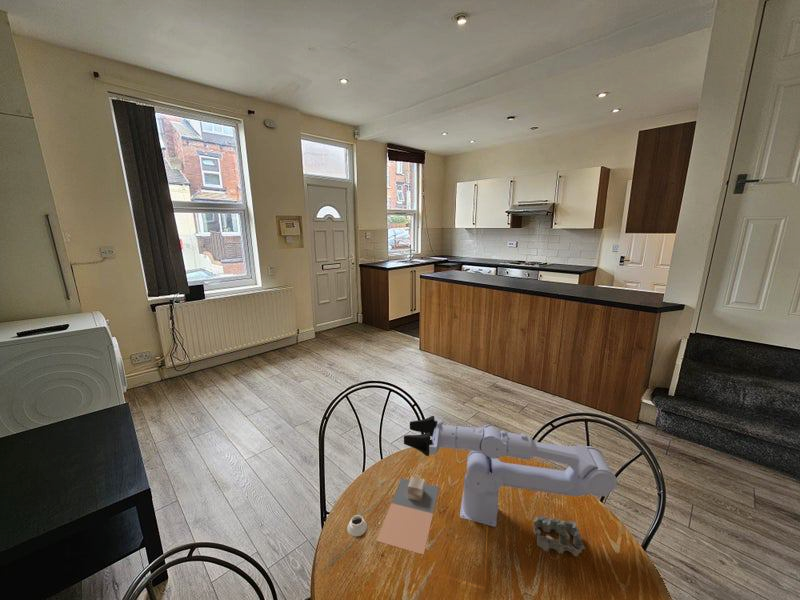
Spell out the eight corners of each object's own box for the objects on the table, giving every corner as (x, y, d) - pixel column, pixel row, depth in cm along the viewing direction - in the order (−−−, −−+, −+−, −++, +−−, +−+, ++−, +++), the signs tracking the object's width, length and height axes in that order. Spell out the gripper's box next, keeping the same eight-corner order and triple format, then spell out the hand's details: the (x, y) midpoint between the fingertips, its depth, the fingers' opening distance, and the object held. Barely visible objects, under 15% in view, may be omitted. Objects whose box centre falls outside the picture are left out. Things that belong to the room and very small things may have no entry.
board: (439, 488, 97) (439, 486, 96) (423, 556, 76) (423, 554, 76) (401, 479, 100) (401, 478, 100) (376, 542, 79) (376, 540, 79)
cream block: (424, 491, 95) (424, 479, 94) (421, 501, 91) (421, 489, 90) (411, 488, 96) (411, 476, 95) (407, 498, 92) (407, 486, 91)
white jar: (356, 518, 86) (343, 531, 82) (356, 508, 86) (343, 522, 82) (370, 527, 83) (358, 542, 79) (370, 517, 83) (357, 532, 79)
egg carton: (536, 551, 78) (538, 537, 77) (531, 524, 85) (532, 511, 84) (584, 561, 75) (586, 546, 75) (575, 532, 83) (577, 519, 82)
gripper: (457, 410, 93) (411, 407, 96) (454, 437, 79) (400, 432, 82) (458, 433, 93) (412, 429, 97) (454, 464, 79) (401, 458, 83)
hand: (407, 432), depth 89 cm, fingers open, 7 cm apart
